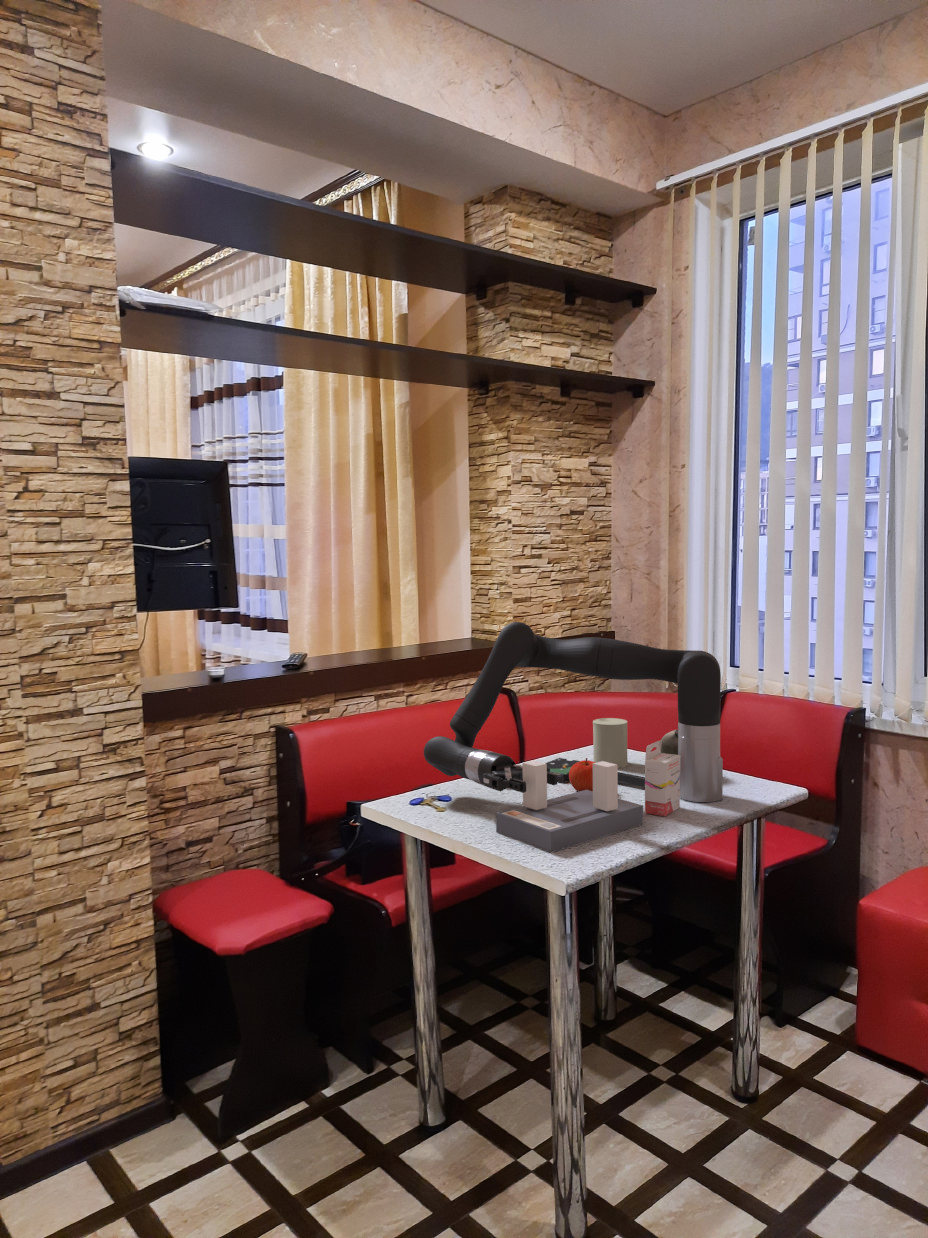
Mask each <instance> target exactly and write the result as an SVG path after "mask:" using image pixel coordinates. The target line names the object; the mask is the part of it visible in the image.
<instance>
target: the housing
mask: <svg viewBox="0 0 928 1238" xmlns="http://www.w3.org/2000/svg"><path fill="white" fill-rule="evenodd" d="M643 825H644V805H643V804H640V803H635V802H631V801H630V800H625V799H621V798H618V809H614V810H611V811H604V810H601V809H598V808H594V807H593V791H590V790H584V791H580V792H579V791H576V792H572V793H569V794H565V795H560V796H557V797H553V798H547V807H546V808H543V809H539V810H534V809H531V808H528V807H525V806H523V805H522V806H517V807H513V808H509V809H506V810H502V811H498V812H495V826H496V827H495V829H496V830H495V831H496V833H498V834H501V835H503V836H506V837H508V838H511V839H514V840H516V841H519V842H521V843H525V844H527V845H529V846H532V847H535V848H536V849H541V850H542V851H546V852H547V853H554V852H558V851H561V850H564V849H568V848H571V847H575V846H577V845H580V844H584V843H588V842H590V841H594V840H596V839H601V838H603V837H607V836H610V835H613V834H617V833H620V832H623V831H626V830H630V829H632V828H635V827H639V826H643Z"/></svg>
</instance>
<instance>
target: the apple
mask: <svg viewBox="0 0 928 1238" xmlns="http://www.w3.org/2000/svg"><path fill="white" fill-rule="evenodd" d="M579 761H580V762H577V763H575V764H574V765H573V766H572V767H571V768H570V771H569V780H570V781H569V782H570V785H571V787H573V789H574V790H575V791H576V792H580V791H584V790H590V791H593V763H596V762H593V760H588V757H586V758H585V759H584V760H579Z"/></svg>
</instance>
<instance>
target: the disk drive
mask: <svg viewBox="0 0 928 1238" xmlns="http://www.w3.org/2000/svg"><path fill="white" fill-rule="evenodd" d="M580 761H581V760H578V759H576V760H575V759H573V760H567V758H562V757H558V758H555V759H553V760H550V761H547V762H544V763H545V764H547V767H549V768H550V773H553V774H556V775H557V783H561V784H566V783H568V782H570V780H569V771H570V768H571V767H572V766H573V765H574V764H575V763H577V762H580Z"/></svg>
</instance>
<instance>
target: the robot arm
mask: <svg viewBox="0 0 928 1238" xmlns="http://www.w3.org/2000/svg"><path fill="white" fill-rule="evenodd" d="M515 667H520V668H534V669H535V668H536V669H537V668H538V669H554V670H560V671H561V670H562V671H564V672H569V673H574V674H580V675H584V676H585V675H586V676H591V677H594V678H603V679H610V680H616V681H618V680H619V681H620V680H621V681H637V680H639V681H641V680H654V681H655V680H656V681H663V682H668V683H672V684H677V722H678V723H677V724H678V725H677V730H678V755H680V756H681V757H680V799H682V800H684V801H689V802H696V803H710V802H716V801H723V795H724V794H723V792H724V791H723V790H724V787H723V778H724V777H723V775H724V774H723V773H724V771H723V768H724V767H723V766H724V764H723V763H724V762H723V761H724V759H723V757H722V756H721V707H722V705H721V698H722V697H721V693H722V689H721V688H722V687H721V684H722V679H721V677H722V675H721V673H722V672H721V667H720V663H719V661H718V660H717V658H716V657H715V656H714V655H713V654H711V653H710V652H709V651H704V650H689V649H688V650H687V649H685V650H683V649H682V650H679V649H667V648H666V649H664V648H658V647H653V646H649V645H645V644H642V643H641V644H640V643H637V642H630V641H626V640H625V641H624V640H618V639H613V638H606V637H598V636H597V637H595V636H594V637H592V636H591V637H590V636H588V637H580V638H578V637H577V638H569V639H558V638H553V637H552V638H551V637H546V636H542V635H538V634H535V632H534V631H533V629H532V628H531V627H530V626H529V625H528V624H526V623H524V622H521V621H513V622H511V623H508V624H506V625H505V626H504V627H503V628H502V629H501V631H500V632H499V634H498V635H497V638H496V641H495V642H494V644H493V647H492V649H491V651H490V653H489V656H488V658H487V661H486V662H485V664H484V666H483V668H482V670H481V671H480V674H478V677H477V678H476V681H475V682H474V684H473V685H472V687H471V689H470V690H469V692H468V693H467V695H466V696H465V698H464V699H463V701H462V702H461V703H460V705H459V707H458V708H457V710H456V711H455V713H454V715H453V716H452V718H451V720H450V721H449V727H450V729H451V730H452V732H454V734H455V739H451V738H449V737H446V736H443V735H442V736H440V735H438V736H434V737H431V738H430V739H429V740H428V741H426V743H425V745H424V747H423V758H424V759H425V761H426V762H427V763H428V764H429V765H431V766H432V767H433V768H435V769H436V770H437V771H440V772H441V773H443V774H444V775H446V776H448V777H455V776H459V777H461V778H463V779H466V780H469V781H472V782H474V783H476V784H478V785H482V786H484V787H487V788H489V789H490V790H495V791H497V792H503V791H504V790H506V791H516V792H518V793H521V794H523V793H524V792H526V782H525V781H523V764H517V763H516V762H515V760H513V758H512V757H511V756H509V755H506V754H503V753H498V752H495V751H490V750H486V749H479V748H476V747H474V744H475V742H476V741H475V740H476V737H477V735H478V734H479V732H480V731H481V730H482V728H483V727H484V724H485V723H486V722H487V720H488V718H489V717H490V715H491V714H492V711H493V709H494V708H495V705H496V703H497V700H498V699H499V695H500V693H501V691H502V688H503V686H504V684H505V683H506V681H507V679H508V678H509V676H510V675H511V673H512V672H513V670H514V669H515ZM547 785H551V786H556V785H558V782H557V775H556V774H553V773H550V768H549V767H547Z"/></svg>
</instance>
